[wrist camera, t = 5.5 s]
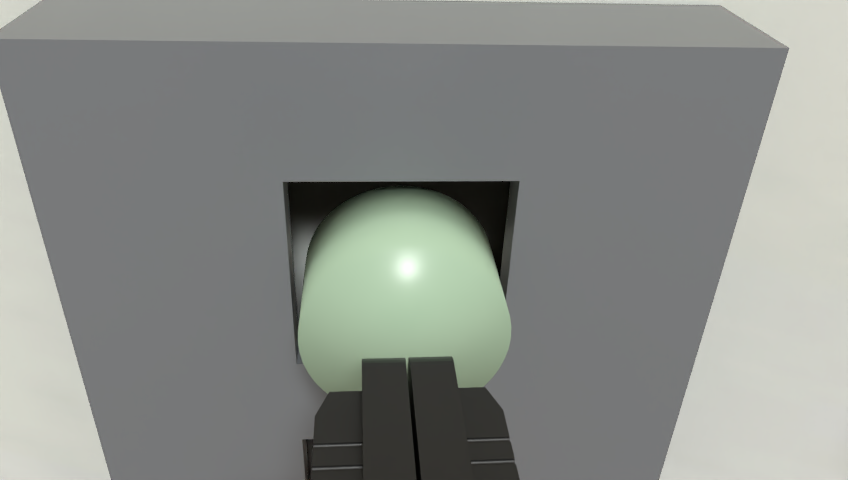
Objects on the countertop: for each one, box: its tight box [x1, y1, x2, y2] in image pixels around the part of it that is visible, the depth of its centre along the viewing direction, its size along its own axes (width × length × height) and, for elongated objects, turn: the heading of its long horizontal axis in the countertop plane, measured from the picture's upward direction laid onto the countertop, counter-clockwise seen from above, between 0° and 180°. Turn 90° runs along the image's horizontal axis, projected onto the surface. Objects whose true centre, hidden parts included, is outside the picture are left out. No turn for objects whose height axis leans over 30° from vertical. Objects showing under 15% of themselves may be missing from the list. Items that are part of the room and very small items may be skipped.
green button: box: [298, 186, 511, 394], centre depth 15 cm, size 4×4×2 cm
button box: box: [0, 0, 789, 480], centre depth 20 cm, size 14×24×3 cm, turn 178°
